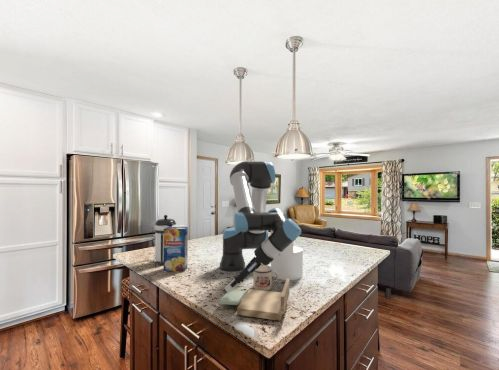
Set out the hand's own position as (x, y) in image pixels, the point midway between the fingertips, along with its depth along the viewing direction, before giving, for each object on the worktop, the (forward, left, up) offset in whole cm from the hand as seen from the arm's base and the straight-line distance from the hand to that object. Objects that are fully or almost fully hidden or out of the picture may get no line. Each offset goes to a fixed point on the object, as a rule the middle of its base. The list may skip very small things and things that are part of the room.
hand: (227, 289), depth 101 cm
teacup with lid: (0, +24, -6) cm, 24 cm away
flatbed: (+13, +8, -5) cm, 16 cm away
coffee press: (-73, +9, -6) cm, 74 cm away
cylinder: (-4, +46, -6) cm, 46 cm away
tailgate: (+6, +4, -3) cm, 7 cm away
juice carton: (-54, +7, -6) cm, 55 cm away
